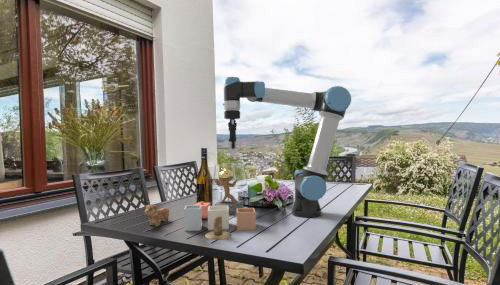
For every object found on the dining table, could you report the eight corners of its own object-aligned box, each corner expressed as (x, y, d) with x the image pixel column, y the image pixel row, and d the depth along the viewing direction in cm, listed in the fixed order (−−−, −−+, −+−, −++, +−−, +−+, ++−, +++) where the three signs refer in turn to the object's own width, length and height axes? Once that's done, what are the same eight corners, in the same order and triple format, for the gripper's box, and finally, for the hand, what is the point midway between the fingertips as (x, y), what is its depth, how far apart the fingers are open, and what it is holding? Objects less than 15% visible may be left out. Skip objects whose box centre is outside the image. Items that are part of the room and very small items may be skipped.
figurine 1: (139, 227, 136) (139, 205, 136) (162, 218, 151) (162, 199, 151) (151, 229, 134) (151, 206, 134) (173, 220, 149) (173, 199, 148)
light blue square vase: (202, 227, 136) (201, 205, 136) (200, 231, 129) (200, 208, 129) (186, 227, 135) (185, 205, 135) (184, 232, 128) (183, 209, 128)
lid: (230, 232, 128) (229, 213, 128) (231, 240, 117) (231, 219, 118) (205, 234, 126) (205, 214, 127) (204, 241, 116) (204, 220, 116)
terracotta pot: (254, 225, 137) (253, 207, 137) (255, 230, 129) (255, 212, 129) (236, 226, 137) (236, 208, 136) (237, 231, 129) (237, 212, 128)
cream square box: (228, 224, 139) (228, 205, 139) (229, 230, 130) (228, 209, 130) (209, 225, 138) (208, 206, 138) (207, 231, 129) (207, 210, 129)
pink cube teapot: (213, 220, 147) (212, 203, 146) (189, 220, 148) (189, 203, 148) (216, 216, 154) (216, 200, 154) (194, 216, 156) (193, 200, 156)
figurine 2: (243, 211, 165) (242, 165, 165) (240, 216, 154) (240, 167, 154) (218, 210, 166) (217, 165, 166) (213, 215, 156) (213, 167, 155)
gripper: (224, 112, 155) (224, 154, 155) (224, 107, 130) (224, 157, 130) (238, 112, 155) (239, 153, 156) (241, 107, 131) (242, 156, 131)
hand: (232, 155), depth 143 cm, fingers open, 13 cm apart
